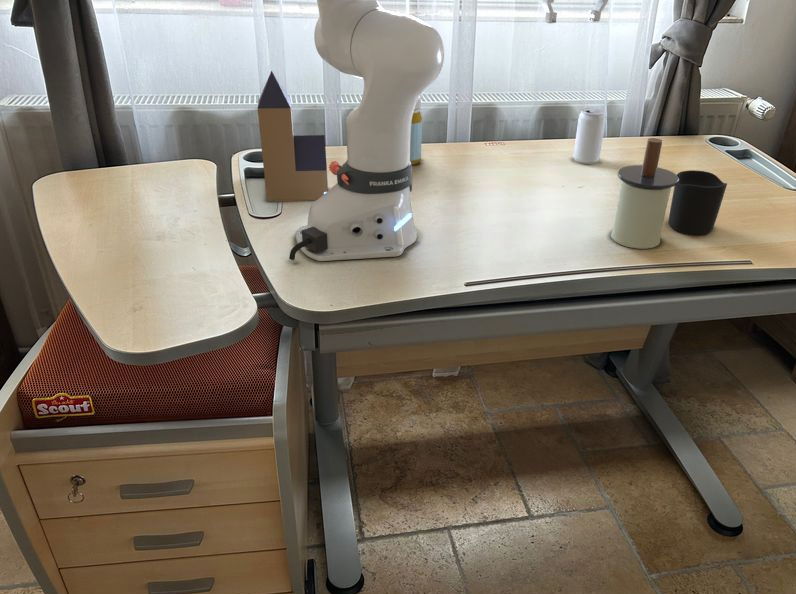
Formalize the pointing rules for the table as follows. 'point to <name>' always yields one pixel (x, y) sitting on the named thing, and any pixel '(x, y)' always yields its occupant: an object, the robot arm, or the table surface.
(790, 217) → the table surface
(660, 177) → the lid
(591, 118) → the beverage can
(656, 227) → the can
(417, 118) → the bottle
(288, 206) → the table surface
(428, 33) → the robot arm
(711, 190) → the pen holder
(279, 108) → the toy building blocks
